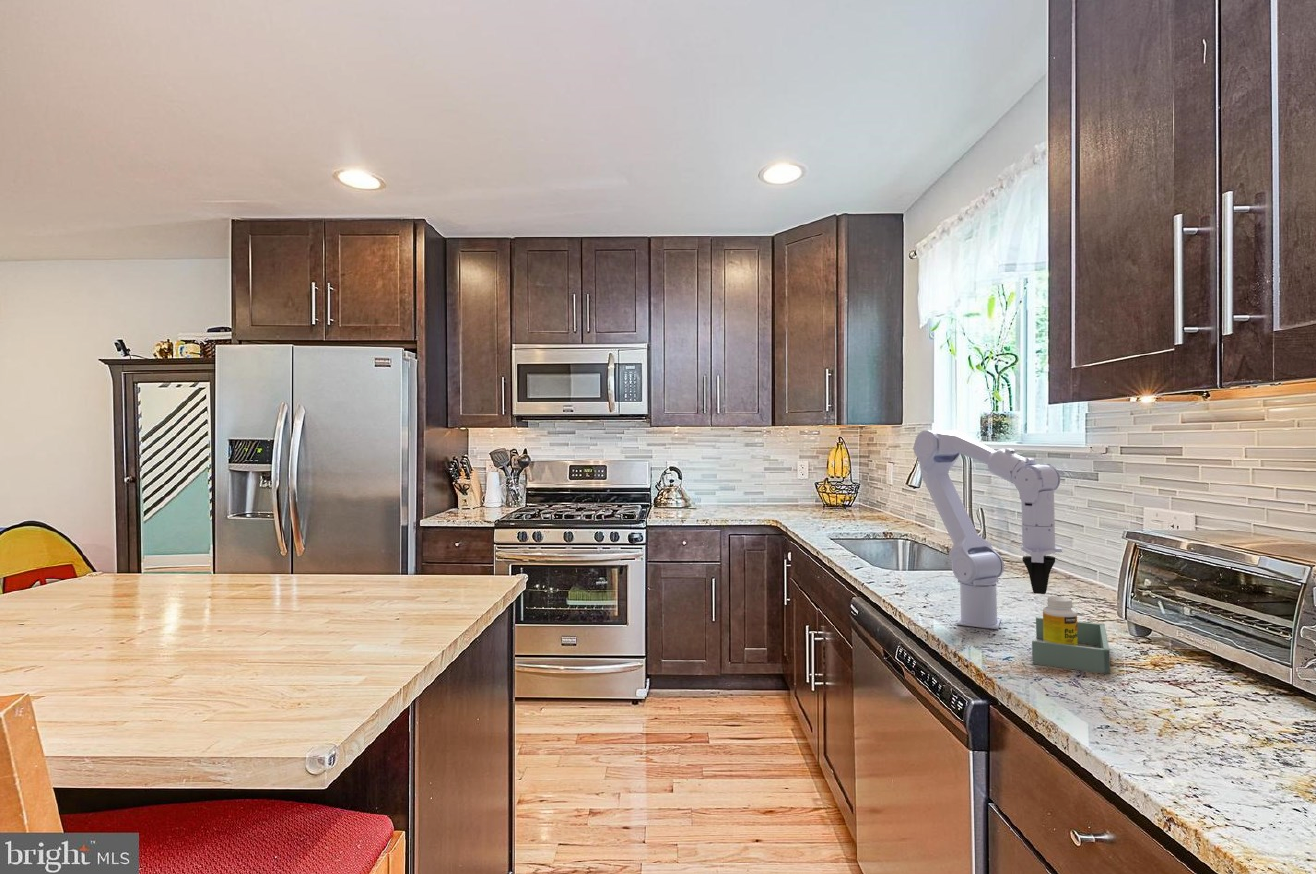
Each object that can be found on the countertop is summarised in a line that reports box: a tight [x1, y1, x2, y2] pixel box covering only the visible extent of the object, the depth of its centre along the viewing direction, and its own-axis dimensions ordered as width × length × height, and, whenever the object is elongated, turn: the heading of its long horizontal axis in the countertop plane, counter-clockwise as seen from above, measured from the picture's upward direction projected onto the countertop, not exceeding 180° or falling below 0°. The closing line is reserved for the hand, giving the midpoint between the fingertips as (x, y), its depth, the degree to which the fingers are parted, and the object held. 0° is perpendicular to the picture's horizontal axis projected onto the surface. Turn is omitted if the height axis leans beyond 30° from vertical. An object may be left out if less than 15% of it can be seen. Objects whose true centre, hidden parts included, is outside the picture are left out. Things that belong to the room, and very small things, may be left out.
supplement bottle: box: [1042, 595, 1079, 646], centre depth 128 cm, size 6×6×10 cm
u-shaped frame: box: [1031, 616, 1111, 675], centre depth 127 cm, size 19×12×4 cm, turn 149°
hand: (1039, 593), depth 136 cm, fingers closed
